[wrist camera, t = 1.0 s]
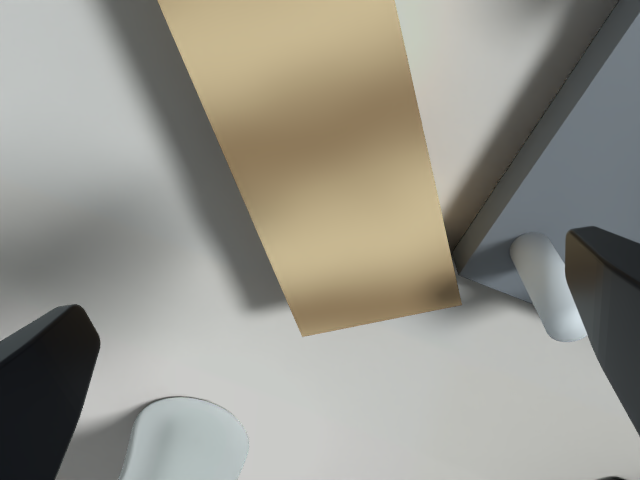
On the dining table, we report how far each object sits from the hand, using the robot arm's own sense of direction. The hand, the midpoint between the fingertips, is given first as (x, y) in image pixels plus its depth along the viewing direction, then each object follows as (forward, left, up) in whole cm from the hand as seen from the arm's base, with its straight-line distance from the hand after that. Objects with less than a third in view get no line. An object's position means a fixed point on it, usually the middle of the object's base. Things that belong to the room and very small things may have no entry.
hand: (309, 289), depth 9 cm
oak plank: (0, 0, -10) cm, 10 cm away
